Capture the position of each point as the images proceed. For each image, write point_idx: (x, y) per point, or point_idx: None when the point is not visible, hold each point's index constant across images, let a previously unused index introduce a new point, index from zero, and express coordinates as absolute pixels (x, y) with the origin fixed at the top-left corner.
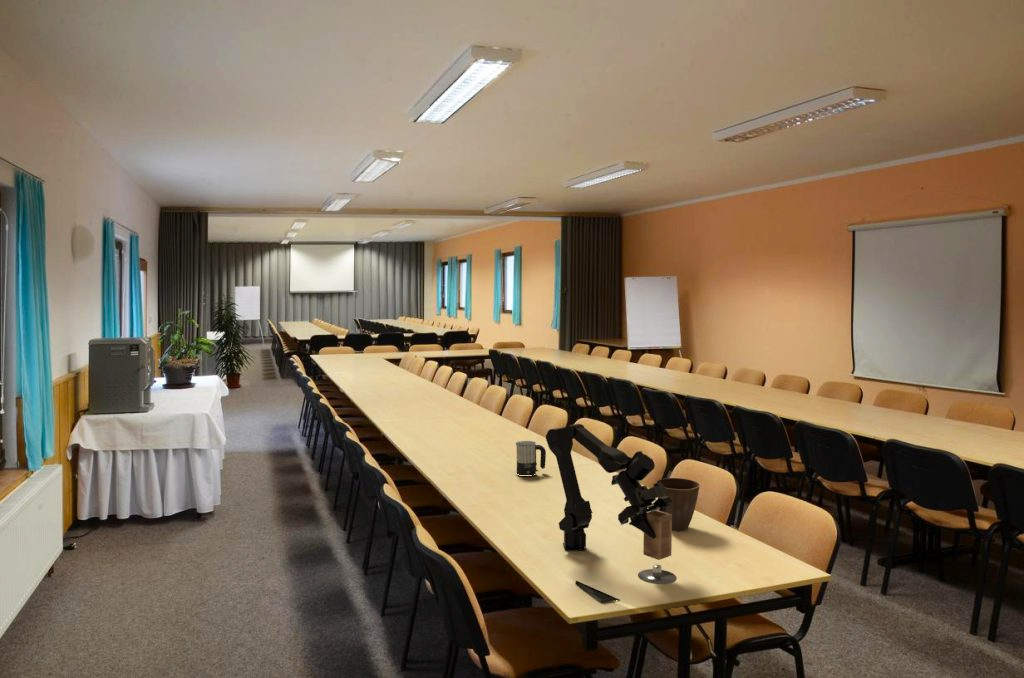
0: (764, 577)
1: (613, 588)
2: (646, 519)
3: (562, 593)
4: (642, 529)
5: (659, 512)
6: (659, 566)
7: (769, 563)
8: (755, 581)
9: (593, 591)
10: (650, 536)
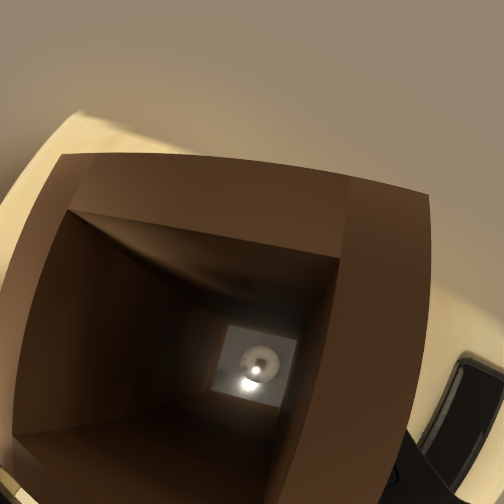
0: (105, 149)
1: (419, 431)
2: (391, 500)
3: (495, 478)
4: None
5: (20, 387)
6: (257, 354)
7: (43, 177)
8: (131, 149)
9: (475, 440)
10: None
